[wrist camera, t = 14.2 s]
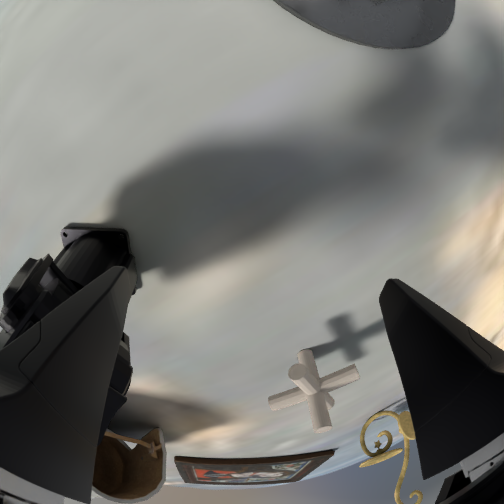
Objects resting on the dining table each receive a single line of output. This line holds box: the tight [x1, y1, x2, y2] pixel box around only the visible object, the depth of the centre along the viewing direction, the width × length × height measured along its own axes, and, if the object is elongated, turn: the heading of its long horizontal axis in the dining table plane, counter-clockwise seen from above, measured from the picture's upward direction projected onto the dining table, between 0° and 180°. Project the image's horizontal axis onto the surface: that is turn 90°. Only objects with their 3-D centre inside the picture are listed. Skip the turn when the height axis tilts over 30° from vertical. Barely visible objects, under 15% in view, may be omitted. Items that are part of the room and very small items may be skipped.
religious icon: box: [174, 450, 335, 485], centre depth 67 cm, size 40×45×3 cm
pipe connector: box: [268, 349, 360, 433], centre depth 26 cm, size 10×10×10 cm
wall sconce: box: [360, 411, 423, 504], centre depth 36 cm, size 14×10×25 cm
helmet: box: [91, 428, 166, 503], centre depth 34 cm, size 19×18×30 cm
